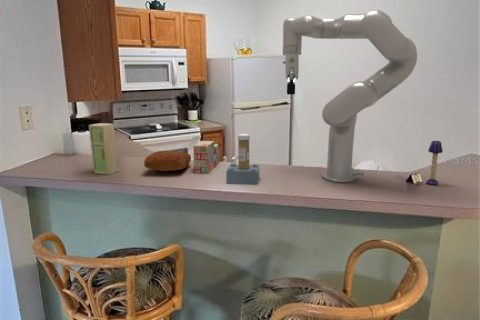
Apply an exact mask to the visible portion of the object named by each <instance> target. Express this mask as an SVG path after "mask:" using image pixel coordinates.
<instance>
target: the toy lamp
mask: <svg viewBox="0 0 480 320" xmlns="http://www.w3.org/2000/svg"><path fill="white" fill-rule="evenodd" d="M442 145H443V144H442V141H439V140H432V141H431V143H430V144H429V147H428V152H429V153H432V158H431V159H432V160H431V168H430V177H429V179H427V180H426V181H425V184H426V185H429V186H432V185H434V186H436V185H437V186H439V182H438V180H437V179H436V174H437V173H436V172H437V163H438V158H439V157H438V155H439V154H442V153H443V152H444V151H443V146H442ZM434 186H433V187H434Z"/></svg>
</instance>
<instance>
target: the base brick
mask: <svg viewBox="0 0 480 320" xmlns="http://www.w3.org/2000/svg"><path fill="white" fill-rule="evenodd" d="M258 164H259V163H252V164H249V166H250V167H249V168H248V169H240V168H238V166H239V164H236V163H235V162H231V163H230V164H229V166H228V167H227V169H226V175H225V176H226V184H239V185H258V183H259V181H260V165H258Z"/></svg>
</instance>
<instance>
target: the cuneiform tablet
mask: <svg viewBox="0 0 480 320" xmlns="http://www.w3.org/2000/svg"><path fill="white" fill-rule="evenodd" d="M191 159H192V155H191V154H188V153H186V152H178V151H166V150H163V151H161V150H159V151H155V152H153V153H150V154H148V156H146V157H145V159H144V161H143V164H144V165H143V166H144V168H147V169H149V170H154V171H161V172H175V171H180V170H184V169H185V168H187V167H188V166H189V165H190V162H191Z"/></svg>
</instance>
